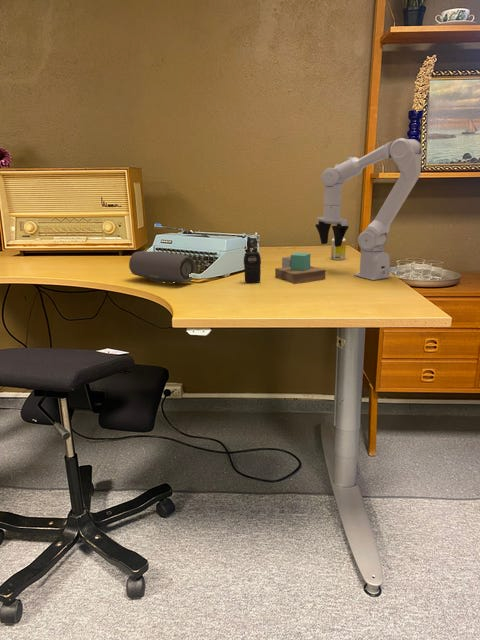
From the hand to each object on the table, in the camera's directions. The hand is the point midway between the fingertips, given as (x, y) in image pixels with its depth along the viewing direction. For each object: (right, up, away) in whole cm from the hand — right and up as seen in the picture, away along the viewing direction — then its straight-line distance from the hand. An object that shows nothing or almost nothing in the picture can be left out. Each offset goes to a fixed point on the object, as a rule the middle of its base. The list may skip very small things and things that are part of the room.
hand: (330, 245), depth 165 cm
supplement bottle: (+8, -2, +26) cm, 27 cm away
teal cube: (-12, -9, -7) cm, 16 cm away
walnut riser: (-12, -12, -6) cm, 18 cm away
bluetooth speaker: (-58, -14, -6) cm, 60 cm away
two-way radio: (-28, -14, -10) cm, 32 cm away
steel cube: (-13, -9, +5) cm, 17 cm away
